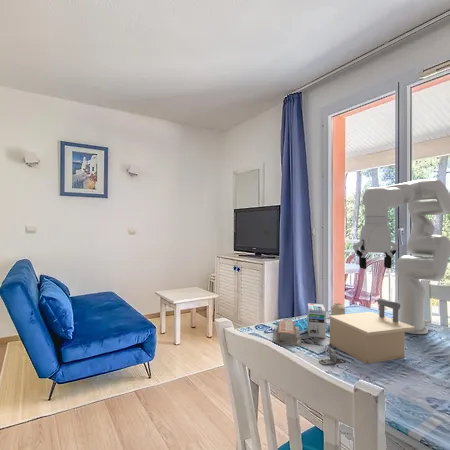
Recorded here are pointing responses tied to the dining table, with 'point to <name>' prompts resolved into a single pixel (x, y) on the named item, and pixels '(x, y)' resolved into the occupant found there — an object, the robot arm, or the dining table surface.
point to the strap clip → (331, 359)
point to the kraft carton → (367, 343)
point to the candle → (337, 309)
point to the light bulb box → (316, 320)
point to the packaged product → (287, 333)
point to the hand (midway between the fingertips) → (375, 268)
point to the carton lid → (374, 320)
